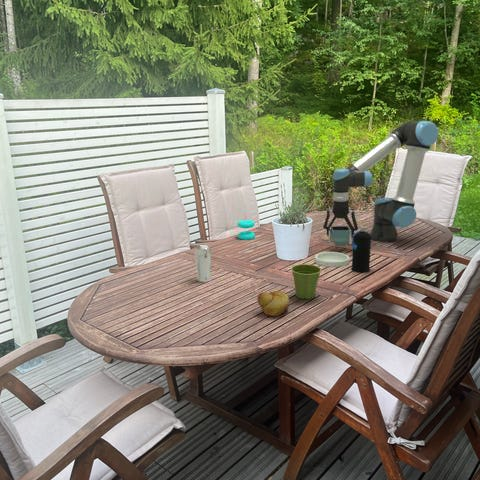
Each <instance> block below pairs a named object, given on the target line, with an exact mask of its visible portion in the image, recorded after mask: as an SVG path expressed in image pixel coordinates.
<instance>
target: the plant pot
mask: <svg viewBox="0 0 480 480" xmlns="http://www.w3.org/2000/svg"><path fill="white" fill-rule="evenodd" d="M290 270H291V272H292V277H293V282H294V283H293V284H294V291H295V295H296V297H297V298H299V299H301V300H304V299H306V300H311V299H313V298H314V297H315V296H316V292H317V286H318V282H319V278H320V275H321V273H322V271H323V270H322V268H321V267H320V266H318V265H315V264H307V263H306V264H305V263H302V264H295V265H293V266H291V267H290Z"/></svg>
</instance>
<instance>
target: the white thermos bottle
mask: <svg viewBox="0 0 480 480" xmlns="http://www.w3.org/2000/svg"><path fill="white" fill-rule="evenodd" d="M211 260H212V253H211V246H210V245H207V244H200V245H196V246H195V247H194V262H195V266H196V270H197V276H196V277H197V278H196V281H197V282H199V283H207V282H210V281H211V280H212V278H211V271H210V269H211Z"/></svg>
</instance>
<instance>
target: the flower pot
mask: <svg viewBox="0 0 480 480" xmlns="http://www.w3.org/2000/svg"><path fill="white" fill-rule="evenodd" d="M330 229H331V240H332V242H333V243H334V246H335V247H346V245H348V243H349V241H350V231H351V229H350V228H349V226H348V225H345V226H344V225H339V226H338V225H336V226H335V225H334V226H333V225H332V226H331V227H330Z"/></svg>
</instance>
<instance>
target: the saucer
mask: <svg viewBox="0 0 480 480" xmlns="http://www.w3.org/2000/svg"><path fill="white" fill-rule="evenodd" d="M350 260H351V259H350V256H349V255H347V254H346V253H342V252H337V251H322V252H319V253H316V254H315V255H314V262H315V263H316V264H317V265H319V266H323V267H330V268H331V267H332V268H337V267H344V266H347V265H349V264H350Z"/></svg>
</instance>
